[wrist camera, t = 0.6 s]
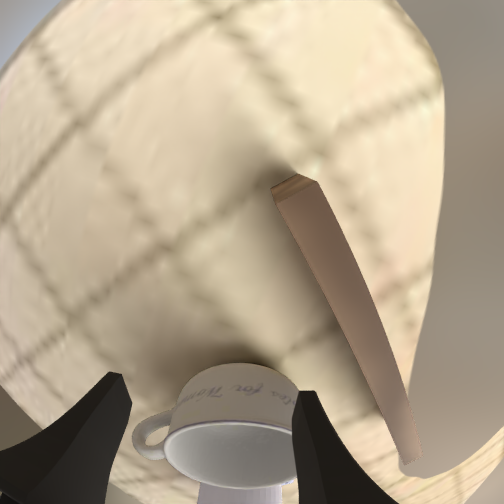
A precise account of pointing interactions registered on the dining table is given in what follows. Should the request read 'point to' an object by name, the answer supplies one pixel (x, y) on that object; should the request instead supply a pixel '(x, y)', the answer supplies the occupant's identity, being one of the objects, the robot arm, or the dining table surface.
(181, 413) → the teacup
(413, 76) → the dining table surface
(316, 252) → the wall board
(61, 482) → the robot arm
